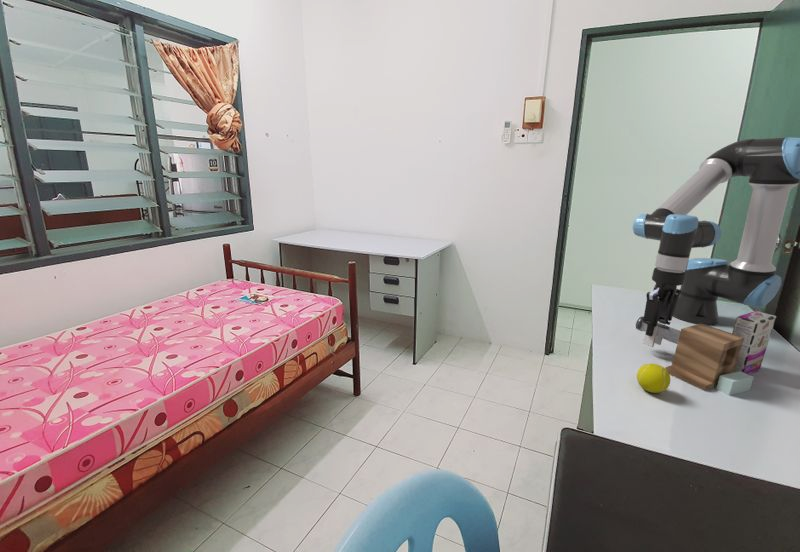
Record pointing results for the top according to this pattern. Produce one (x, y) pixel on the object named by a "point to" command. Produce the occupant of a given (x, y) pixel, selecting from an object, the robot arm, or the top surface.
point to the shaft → (660, 331)
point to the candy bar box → (753, 339)
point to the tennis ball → (653, 378)
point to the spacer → (734, 383)
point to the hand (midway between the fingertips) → (651, 343)
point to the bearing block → (705, 355)
